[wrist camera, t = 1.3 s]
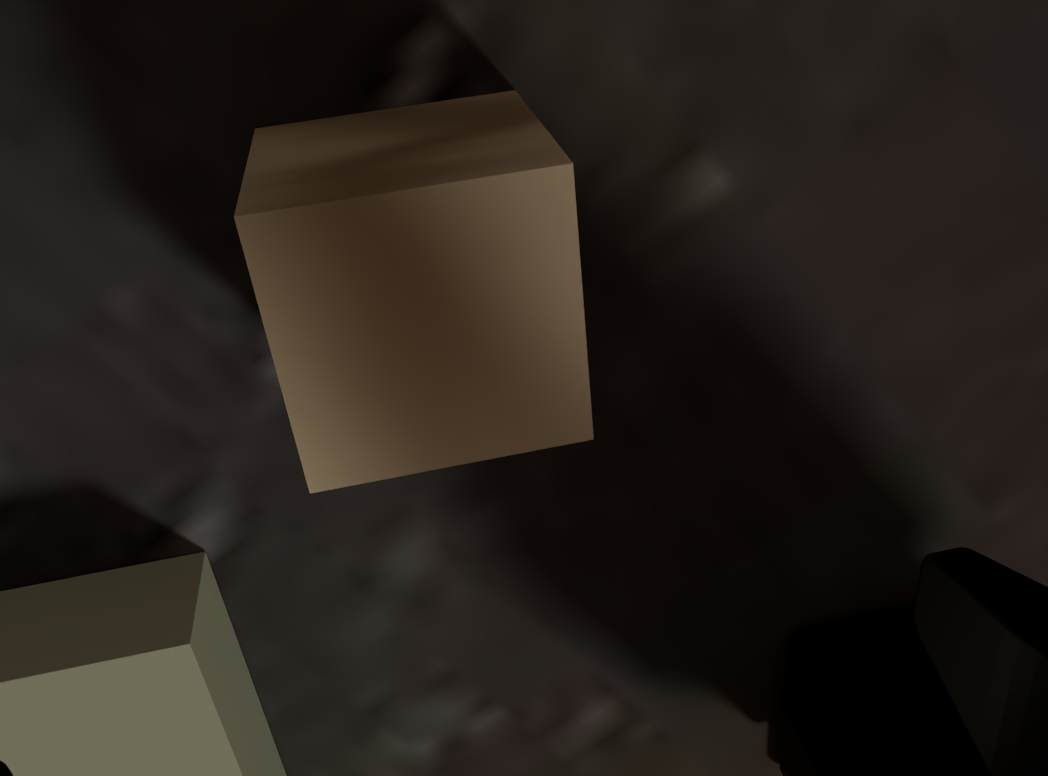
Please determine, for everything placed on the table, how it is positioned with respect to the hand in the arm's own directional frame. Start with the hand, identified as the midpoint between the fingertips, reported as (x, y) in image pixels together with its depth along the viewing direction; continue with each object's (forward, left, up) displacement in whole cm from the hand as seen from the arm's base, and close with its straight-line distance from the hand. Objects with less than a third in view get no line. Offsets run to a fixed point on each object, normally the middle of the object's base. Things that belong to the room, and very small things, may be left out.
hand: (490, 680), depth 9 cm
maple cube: (0, 0, -12) cm, 12 cm away
